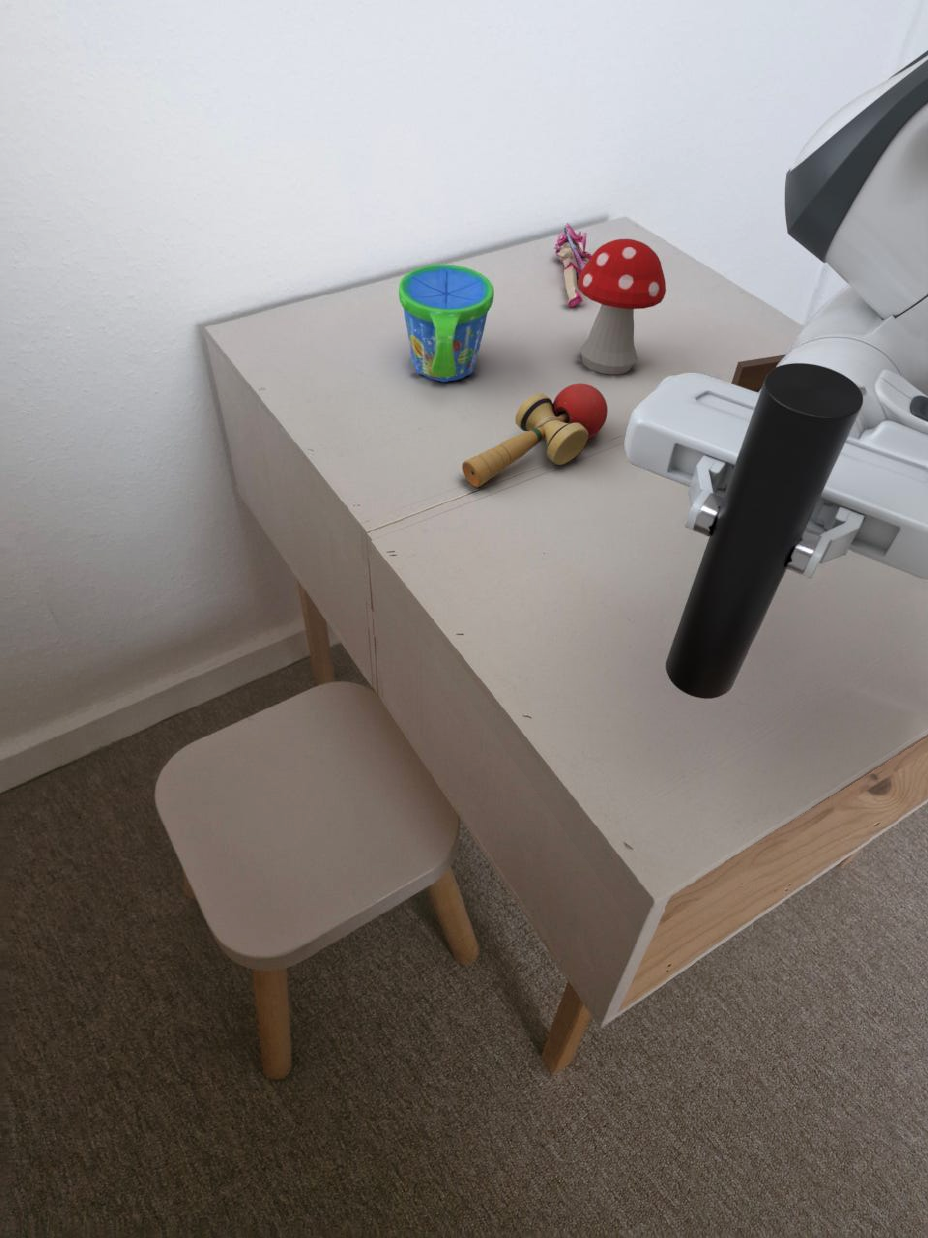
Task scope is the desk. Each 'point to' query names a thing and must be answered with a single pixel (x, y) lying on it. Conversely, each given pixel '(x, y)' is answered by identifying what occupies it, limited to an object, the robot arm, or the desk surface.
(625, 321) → the decorative mushroom
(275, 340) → the desk surface
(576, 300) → the toy
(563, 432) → the kendama
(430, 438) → the desk surface
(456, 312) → the snack cup
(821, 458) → the cylinder
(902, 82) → the robot arm
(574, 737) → the desk surface
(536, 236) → the desk surface
